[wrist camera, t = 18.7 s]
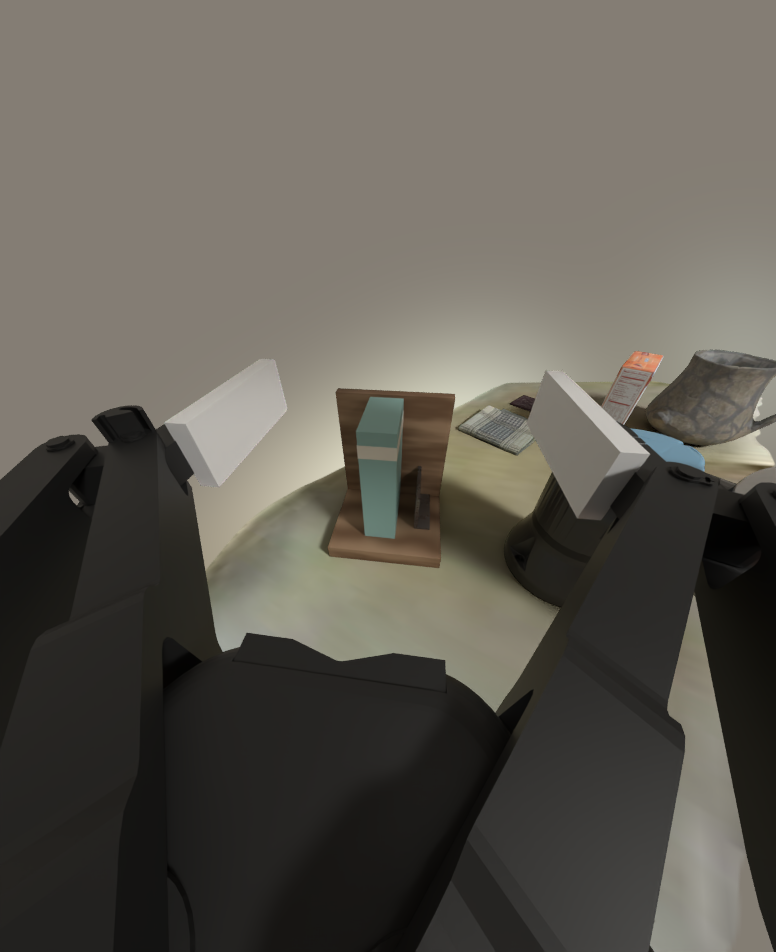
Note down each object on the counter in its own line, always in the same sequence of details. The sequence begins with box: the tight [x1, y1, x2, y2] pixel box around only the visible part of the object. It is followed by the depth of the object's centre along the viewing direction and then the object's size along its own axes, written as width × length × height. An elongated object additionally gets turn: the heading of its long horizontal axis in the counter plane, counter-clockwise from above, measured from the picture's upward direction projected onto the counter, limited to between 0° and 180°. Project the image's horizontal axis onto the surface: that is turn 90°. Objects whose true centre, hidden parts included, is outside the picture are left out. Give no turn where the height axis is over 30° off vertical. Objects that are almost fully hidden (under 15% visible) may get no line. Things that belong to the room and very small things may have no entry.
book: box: [356, 397, 404, 539], centre depth 43 cm, size 5×10×20 cm, turn 173°
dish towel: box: [458, 405, 536, 455], centre depth 77 cm, size 19×18×3 cm
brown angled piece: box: [328, 388, 455, 568], centre depth 45 cm, size 18×18×22 cm
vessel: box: [646, 350, 776, 446], centre depth 69 cm, size 22×22×20 cm
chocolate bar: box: [510, 395, 535, 412], centre depth 87 cm, size 9×1×18 cm
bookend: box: [414, 466, 430, 530], centre depth 48 cm, size 9×3×7 cm, turn 173°
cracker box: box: [601, 351, 663, 425], centre depth 66 cm, size 14×6×21 cm, turn 137°
